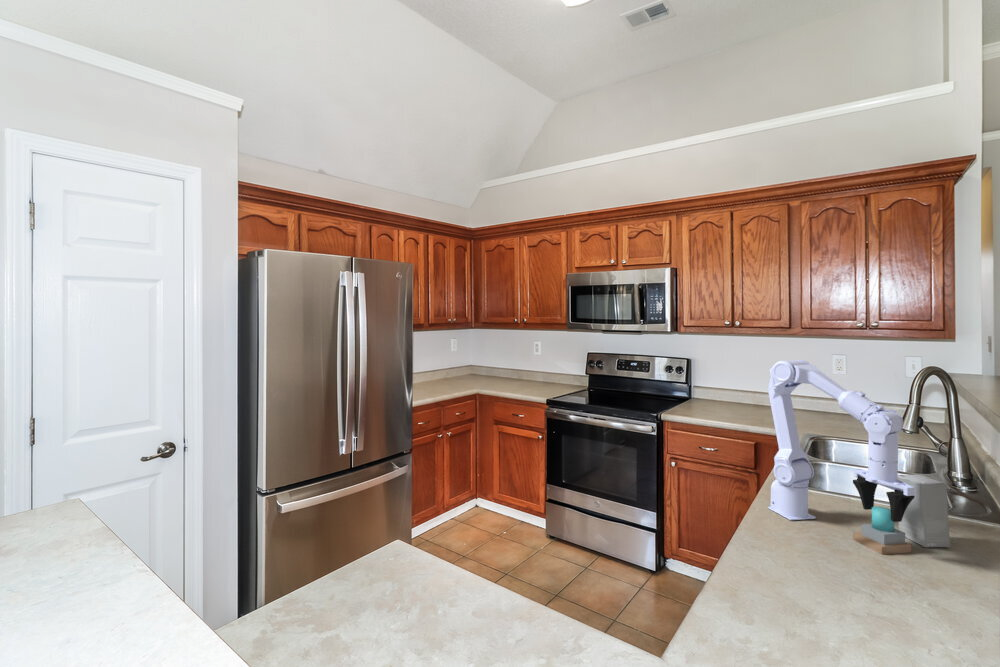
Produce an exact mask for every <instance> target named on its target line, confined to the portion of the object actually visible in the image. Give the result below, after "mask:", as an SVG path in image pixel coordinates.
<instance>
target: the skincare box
mask: <svg viewBox="0 0 1000 667" xmlns="http://www.w3.org/2000/svg"><path fill="white" fill-rule="evenodd" d="M898 480H900V481H902V482H904V483H906V484H908V485H910V486H912V487H915V498H914V499H913V500H912V501H911V502H910V504H909V505H908V507H907V508H906V510H905V513H904V515H903V518H902V521H901V522H898V530H900V531H902V532H904V533H905V539H908V540H910V541H912V542H914V543H916V544H918V545H919V546H921V547H924V548H950V546H951V537H950V522H949V510H948V508H949V506H948V495H947V494H948V492H947V490H948V489H947V483H946V482H943V481H940V480H937V479H933V478H931V477H928V476H925V475H923V474H900V475H899V474H898Z"/></svg>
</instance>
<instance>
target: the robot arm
mask: <svg viewBox="0 0 1000 667" xmlns="http://www.w3.org/2000/svg"><path fill="white" fill-rule="evenodd" d="M769 374H770V378H769V382H768V386H767V393H768V398H769V402H770V404H769V405H770V409H771V414H772V419H773V423H774V424H773V425H774V429H775V435H776V439H777V446H778V451H777V452H776V454H775V455H774V457H773V460H774V466H773V469H772V470H773V475H774V478H775V480H773V481H772V483H771V485H770V506H767V508H768V509H769V510H771V511H773V512H775V513H776V514H778V515H780V516H782V517H784V518H785V519H788V520H789V521H799V520H800V521H802V520H815V519H816V518H817V517H816V516H814V515H813V514H812V513H811V514H810V513H809V483H810V480H811V479H812V478H813V477H814V474H815V469H814V466H813V465H812V463H811V462H810V460H809V456H808V454H807V453H806V451H804V450H803V449H802V447H801V442H800V437H799V433H798V432H799V431H798V427H797V423H796V421H797V420H796V416H795V411H794V407H793V406H794V405H793V401H792V395H791V394H792V393H793V391H795V389H796V388H797V387H798V386H800V385H801V384H809V385H812V386H813V387H815V388H817V389H818V390H820V391H821V392H823V393H824V394H826V395H828V396H829V397H831V398H833V399H835V400H836V401H837V402H838V406H839V408H840V409H841V410H843V411H844V412H845V413H847V414H848V415H850V416H851V417H853V418H855V419H856V420H857V421H859V422H860V423H861V424H863V428H864V429H865V430H866V431H867V433H868V452H867V453H868V456H867V457H868V458H867V460H868V461H867V465H868V466H867V470H865V469H862V468H854V469H853V477H854V478H856V479H853V480H852V483H853V485H854V486H855V488H856V490H857V493H858V494H859V497H860V500H861V504H862V508H863V510H872V507H875V506H874V505H875V494H876V491H877V487H878V486H879V485H880V486H881V487H884V488H887V489H890V490H893V491H886V496H887V499H888V501H889V503H888V504H889V507H890V508H889V509H890V511H891V520H892V521H893V522H894V523H899V522H901V521H902V518H903V515H904V513H905V510H906V508H907V507H908V505H909V504H910V502H911V501H912V500H913V499H914V498H915V487H912V486H910V485H908V484H906V483H904V482H902V481H900V480H898V475H899V474H898V473H899V472H898V471H899V470H898V468H899V466H898V465H899V432H901V430H902V429H903V428H904V420H903V418H902V416H901V415H900V414H899V413H898V412H897V411H896V410H894V409H886V408H885V409H884V405H882V404H877V403H876V402H875V401H872V400H871V399H870V398H868V397H867V396H866V393H864V392H863V391H857V390H847V389H846V388H844V387H843V386H841V385H840V384H839V383H837V382H836V381H835V380H833V379H832V378H830V377H829V376H828V375H826V374H825V373H824V372H822V371H821V370H820V369H819V368H818V367H817V366H816V365H814V364H812V363H810V362H809V361H808V360H805V359H797V360H795V359H794V360H779V361H777V362H776V363H774V364H773V366H772V367H770V369H769Z"/></svg>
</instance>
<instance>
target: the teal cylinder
mask: <svg viewBox="0 0 1000 667" xmlns="http://www.w3.org/2000/svg"><path fill="white" fill-rule="evenodd" d="M871 524H872V527H873V528H874V529H877V530H880V531H884V532H894V528H895V522H893V521H892V520H891V511H890V508H888V507H883V506H873V507H872V509H871Z"/></svg>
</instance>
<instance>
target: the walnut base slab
mask: <svg viewBox="0 0 1000 667" xmlns="http://www.w3.org/2000/svg"><path fill="white" fill-rule="evenodd" d="M852 540H853V541H854V542H857V543H859V544H860V545H862V546H865V547H866V548H868V549H871V550H872V551H873V552H876V553H878V554H880V555H889V554H892V555H893V554H894V555H895V554H905V553H911V552H912V544H911V543H909V542H906V541H905V543H902V544H891V545H883V544H881V543H878V542H876V541H874V540H872V539H870V538H868V537H866V536H864V535H861V531H856V532H854V531H853V532H852Z"/></svg>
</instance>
